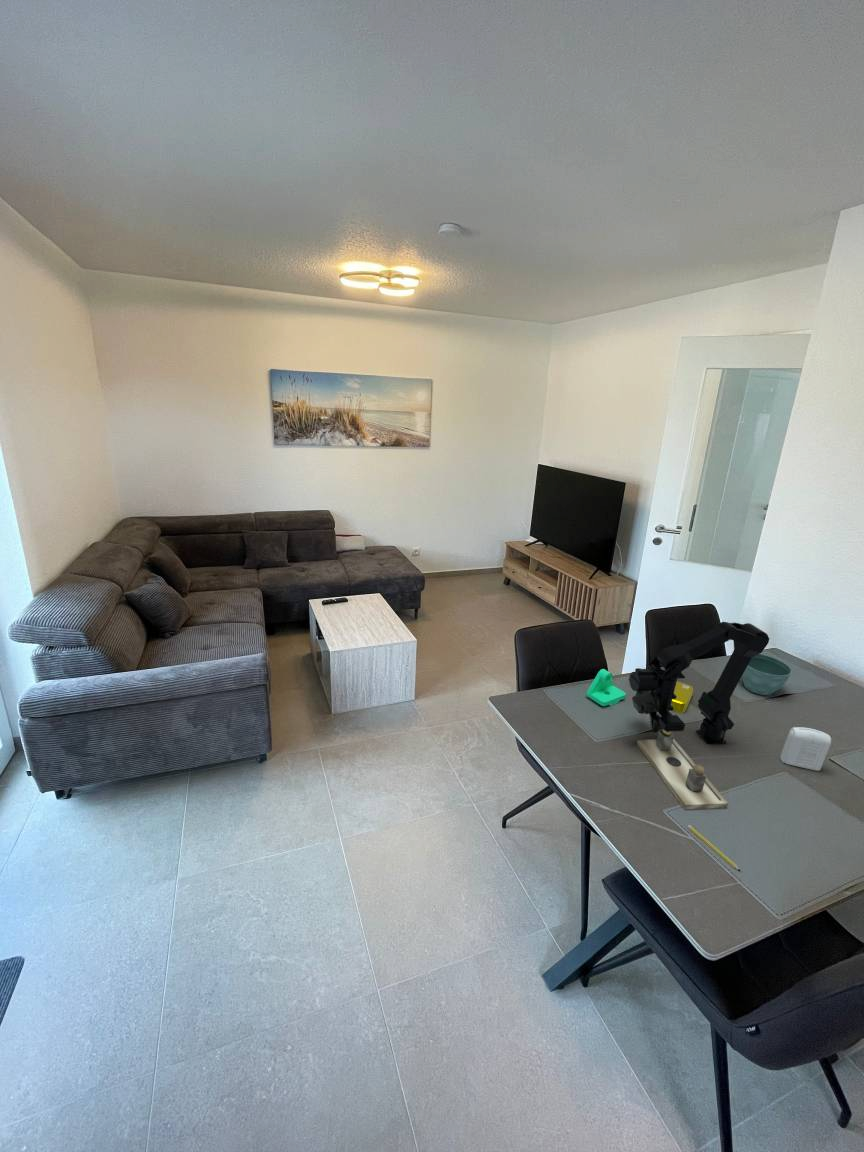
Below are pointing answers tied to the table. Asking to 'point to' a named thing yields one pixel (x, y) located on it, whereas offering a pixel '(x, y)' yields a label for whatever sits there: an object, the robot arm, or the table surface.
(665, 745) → the sliding leg
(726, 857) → the pencil
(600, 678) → the camera mount
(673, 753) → the bolt plate
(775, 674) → the flower pot
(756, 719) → the table surface
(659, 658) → the robot arm
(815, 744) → the photo printer
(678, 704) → the element tile
